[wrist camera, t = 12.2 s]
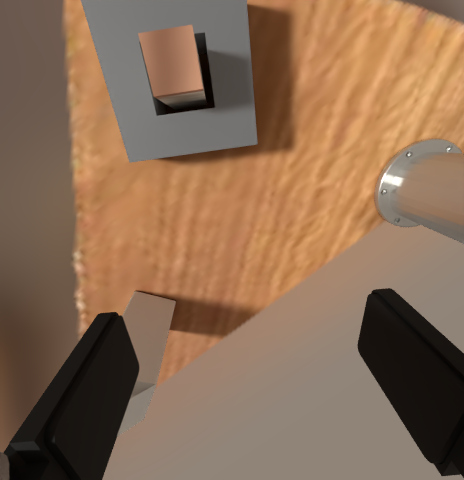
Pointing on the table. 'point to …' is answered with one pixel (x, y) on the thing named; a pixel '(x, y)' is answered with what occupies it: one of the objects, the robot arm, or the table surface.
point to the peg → (174, 66)
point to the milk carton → (146, 349)
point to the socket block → (138, 84)
